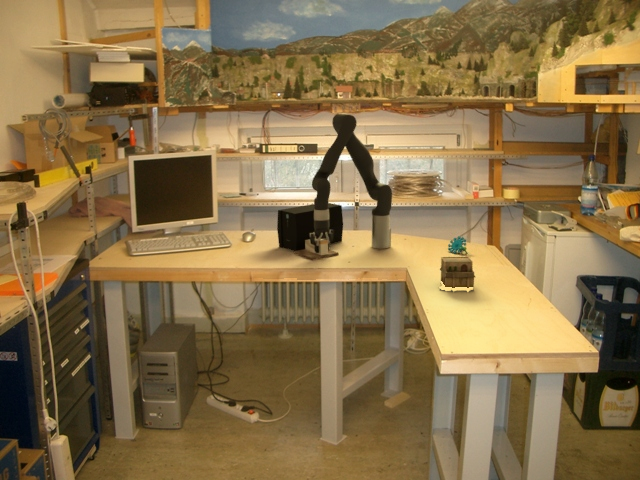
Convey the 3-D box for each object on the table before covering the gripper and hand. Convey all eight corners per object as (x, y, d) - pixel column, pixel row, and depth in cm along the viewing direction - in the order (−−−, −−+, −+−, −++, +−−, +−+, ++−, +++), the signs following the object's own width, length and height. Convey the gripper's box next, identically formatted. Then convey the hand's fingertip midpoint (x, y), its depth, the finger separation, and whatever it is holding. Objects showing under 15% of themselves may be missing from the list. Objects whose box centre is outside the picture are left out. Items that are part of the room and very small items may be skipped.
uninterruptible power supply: (277, 247, 322) (276, 209, 317) (325, 236, 344) (325, 201, 339) (297, 252, 310) (296, 214, 305) (345, 241, 332) (345, 205, 327)
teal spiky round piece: (443, 247, 308) (456, 232, 309) (449, 254, 311) (461, 239, 312) (457, 255, 299) (470, 240, 299) (462, 262, 302) (476, 247, 303)
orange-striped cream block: (322, 252, 305) (322, 238, 303) (328, 254, 301) (328, 240, 299) (316, 253, 302) (315, 240, 301) (321, 255, 299) (321, 241, 297)
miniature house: (434, 281, 260) (435, 255, 257) (467, 281, 259) (468, 255, 257) (440, 293, 245) (441, 265, 242) (475, 292, 245) (477, 265, 242)
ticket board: (320, 248, 317) (320, 237, 315) (338, 255, 304) (338, 242, 302) (294, 253, 308) (294, 241, 307) (311, 260, 295) (311, 247, 294)
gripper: (329, 215, 304) (329, 248, 308) (305, 218, 296) (305, 252, 300) (338, 217, 298) (338, 251, 302) (313, 221, 290) (314, 255, 294)
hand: (322, 251), depth 301 cm, fingers open, 5 cm apart
